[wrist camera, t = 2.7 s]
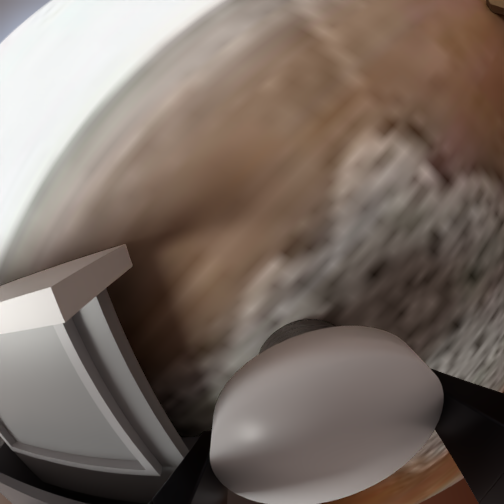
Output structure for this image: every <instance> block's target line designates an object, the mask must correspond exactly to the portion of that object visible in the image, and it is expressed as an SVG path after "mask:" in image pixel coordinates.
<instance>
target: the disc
mask: <svg viewBox="0 0 504 504" xmlns="http://www.w3.org/2000/svg"><path fill="white" fill-rule="evenodd" d="M443 403H444V393H443V389H442V384H441V382H440V380H439V378H438V377H437V376H436V374H435V373H434V372H433V371H432V370H431V369H430V368H429V367H428V366H427V365H426V364H425V362H424V361H423V360H422V359H421V358H420V357H419V356H418V355H417V354H416V353H415V352H414V351H413V350H412V349H411V348H410V347H409V346H408V345H407V344H406V343H405V342H404V341H403V340H402V339H400V338H399V337H397V336H396V335H394V334H392V333H389V332H387V331H385V330H381V329H377V328H374V327H366V326H338V327H329V328H324V329H319V330H315V331H310V332H307V333H304V334H301V335H298V336H295V337H292V338H290V339H288V340H285V341H283V342H281V343H278V344H276V345H274V346H273V347H271V348H269V349H267V350H265V351H264V352H262V353H260V354H259V355H257V356H256V357H254V358H253V359H252V360H250V361H249V362H247V363H246V364H245V365H244V366H243V367H242V368H241V369H239V370H238V371H237V372H236V373H235V374H234V375H233V377H232V378H231V379H230V380H229V381H228V382H227V384H226V385H225V387H224V388H223V390H222V391H221V393H220V395H219V397H218V400H217V402H216V405H215V409H214V414H213V424H212V435H211V446H210V464H211V467H212V470H213V472H214V474H215V476H216V477H217V479H218V480H219V481H220V482H221V483H222V484H223V485H224V486H225V487H227V488H228V489H229V490H231V491H232V492H234V493H236V494H237V495H240V496H242V497H244V498H247V499H249V500H253V501H256V502H260V503H265V504H319V503H324V502H329V501H333V500H337V499H341V498H344V497H347V496H350V495H353V494H355V493H358V492H360V491H363V490H365V489H367V488H369V487H371V486H373V485H375V484H377V483H379V482H380V481H382V480H384V479H385V478H387V477H388V476H390V475H391V474H393V473H394V472H396V471H397V470H398V469H400V468H401V467H402V466H404V465H405V464H406V463H407V462H408V461H409V460H410V459H411V458H413V457H414V456H415V455H416V453H417V452H418V451H419V450H420V449H421V448H422V447H423V446H424V444H425V443H426V442H427V440H428V439H429V438H430V436H431V434H432V433H433V431H434V430H435V427H436V425H437V423H438V421H439V419H440V416H441V413H442V408H443Z"/></svg>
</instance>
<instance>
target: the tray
mask: <svg viewBox="0 0 504 504" xmlns="http://www.w3.org/2000/svg"><path fill="white" fill-rule="evenodd" d="M131 267H133V265H132V262H131V259H130V256H129V253H128V250H127V247H126V244H123V245H120V246H117V247H113V248H110V249H107V250H104V251H101V252H97V253H94V254H91V255H88V256H85V257H82V258H79V259H76V260H73V261H70V262H67V263H64V264H61V265H58V266H55V267H52V268H49V269H46V270H43V271H40V272H37V273H34V274H32V275H29V276H26V277H23V278H20V279H18V280H15V281H12V282H9V283H7V284H4V285H1V286H0V436H1V438H2V439H3V440H4V441H5V442H6V444H7V445H8V446H9V447H10V448H11V450H12V451H14V452H15V453H16V454H17V456H18V457H19V458H20V459H21V460H22V461H23V462H24V463H25V464H26V465H27V467H28V468H29V469H30V470H31V471H32V472H33V473H34V474H35V475H36V476H37V477H38V478H39V479H40V480H41V481H42V482H45V483H48V484H51V485H54V486H58V487H61V488H65V489H68V490H72V491H76V492H80V493H84V494H89V495H94V496H98V497H104V498H109V499H115V500H122V501H129V502H137V503H147V504H148V503H149V502H150V501H152V499H153V497H154V496H155V495H156V494H157V492H158V491H159V490H160V489H161V487H162V486H163V485H164V484H165V482H166V481H167V480H168V478H169V477H170V476H171V474H172V473H173V472H174V471H175V469H176V468H177V467H178V465H179V464H180V463H181V461H182V460H183V459H184V457H185V456H186V455H187V453H188V452H189V450H188V448H187V447H186V445H185V444H184V442H183V441H182V439H181V437H180V436H179V434H178V433H177V431H176V430H175V428H174V426H173V425H172V423H171V421H170V420H169V418H168V417H167V415H166V413H165V411H164V410H163V408H162V406H161V405H160V403H159V401H158V399H157V397H156V396H155V394H154V392H153V390H152V388H151V387H150V385H149V383H148V381H147V379H146V377H145V375H144V373H143V371H142V369H141V367H140V365H139V363H138V361H137V359H136V357H135V355H134V353H133V351H132V349H131V347H130V344H129V342H128V340H127V338H126V336H125V333H124V331H123V329H122V326H121V324H120V322H119V319H118V317H117V315H116V312H115V310H114V307H113V305H112V302H111V300H110V297H109V294H108V292H107V289H106V288H107V287H108V286H109V285H110V284H111V283H113V282H114V281H115V280H116V279H118V278H119V277H120V276H121V275H123V274H124V273H125V272H126V271H128V270H129V269H130V268H131Z"/></svg>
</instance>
